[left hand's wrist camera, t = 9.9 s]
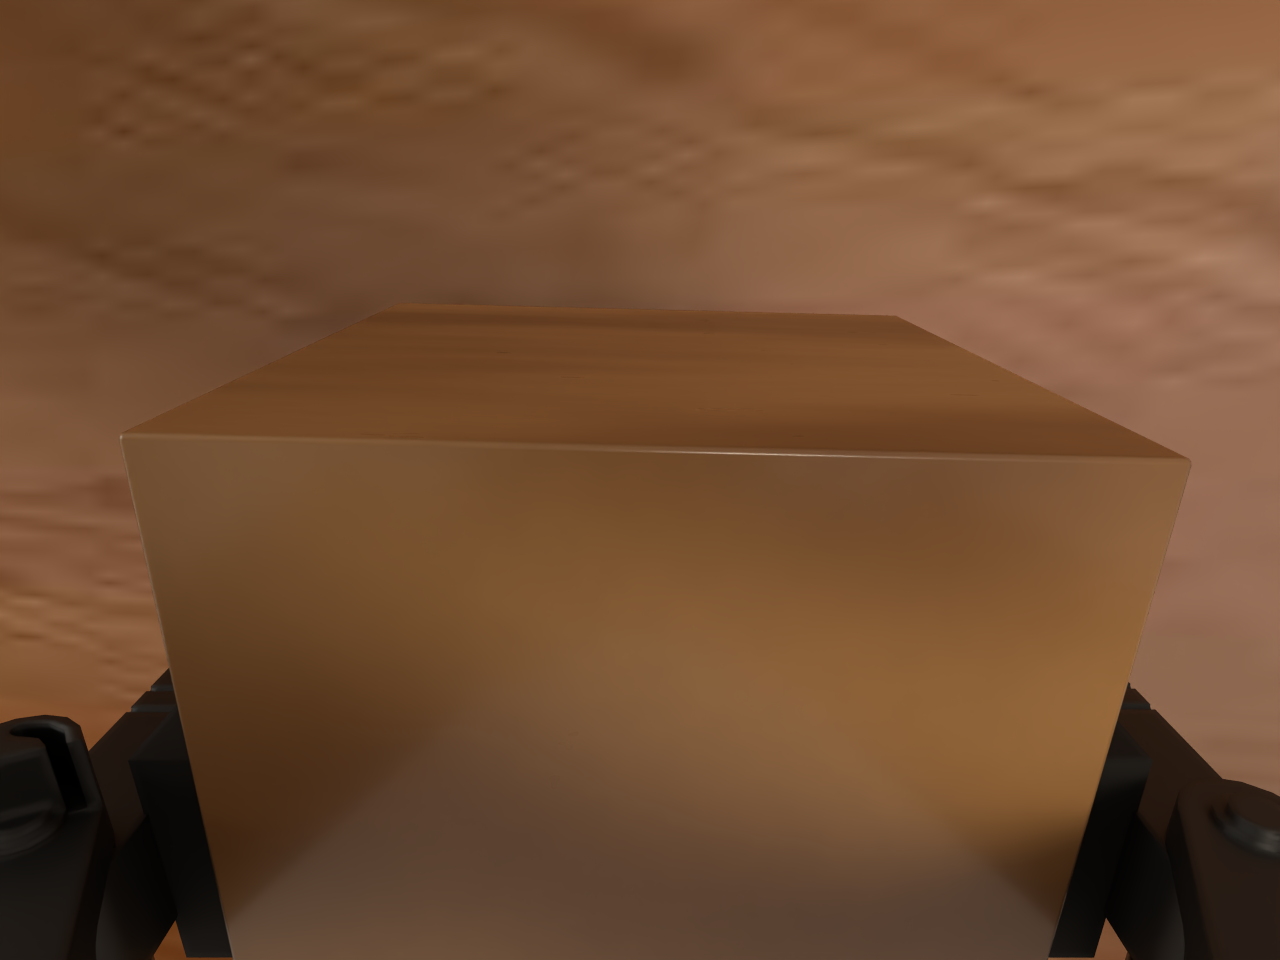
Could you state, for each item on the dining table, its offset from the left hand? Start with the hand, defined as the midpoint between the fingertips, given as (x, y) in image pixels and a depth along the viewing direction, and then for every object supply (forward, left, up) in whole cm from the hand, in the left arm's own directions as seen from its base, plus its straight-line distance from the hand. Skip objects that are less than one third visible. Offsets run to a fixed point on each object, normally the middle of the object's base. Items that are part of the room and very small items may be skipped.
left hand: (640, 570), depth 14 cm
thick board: (+4, -36, 0) cm, 37 cm away
